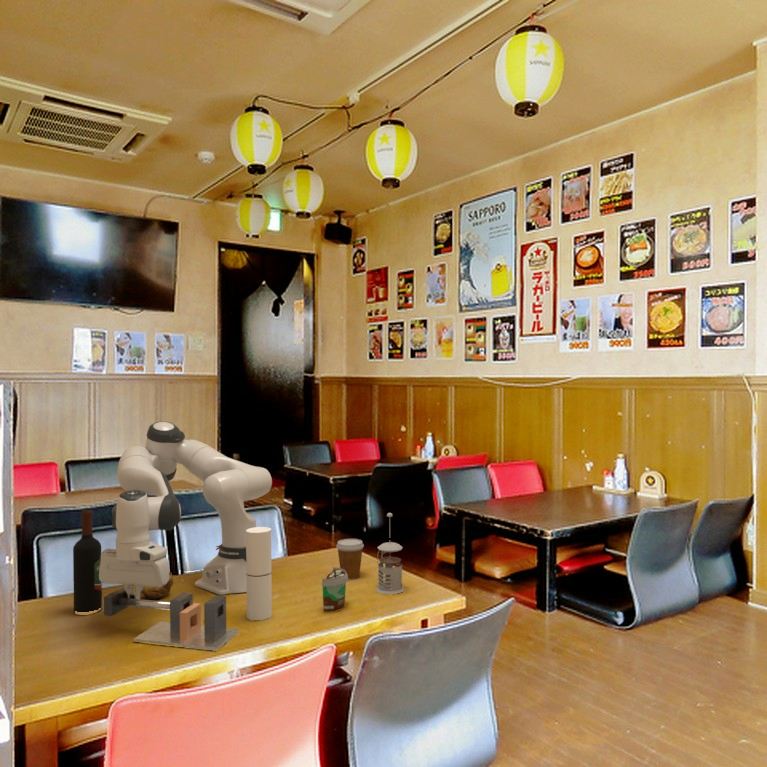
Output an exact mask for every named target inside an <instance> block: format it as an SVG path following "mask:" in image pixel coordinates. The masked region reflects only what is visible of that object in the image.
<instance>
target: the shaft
mask: <svg viewBox="0 0 767 767" xmlns="http://www.w3.org/2000/svg"><path fill="white" fill-rule="evenodd" d="M129 607H133V608H142V609H143V608H144V609H155V610H166V611H170V601H161V600H160V601H159V600H151V599H148V600H141V599H130V598H128V594H127V593H126V591H125V589H124V586H122V587H120V588H119V589H117V590H114V591H113V592H110V593H109V594H107V595H104V596H103V616H104V617H105V616H106V617H113V616H115V615H116V614H118V613H120V612H122V611H123V610H126V609H127V608H129Z"/></svg>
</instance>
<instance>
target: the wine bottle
mask: <svg viewBox="0 0 767 767" xmlns="http://www.w3.org/2000/svg"><path fill="white" fill-rule="evenodd" d="M72 553H73V554H72V556H73V557H72V562H73V563H72V566H73V567H72V570H73V572H72V573H73V576H72V578H73V612H74V611H77V612H89V611H94V610H98V609H99V608H101V607H102V608H103V600H102V598H103V597H102V596H103V595H102V594H103V591H102V590H103V589H102V588H103V587H102V585H103V584H102V582H101V581H100V580H99V570H100V563H101V553H102V543H100V541H99V540H98V539H97V538H95V537H94V535H93V510H92V509H84V510H83V509H82V510H81V537H80V539H79V540H77V542H75V544H74V545H73V548H72Z"/></svg>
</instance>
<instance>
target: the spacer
mask: <svg viewBox="0 0 767 767" xmlns="http://www.w3.org/2000/svg"><path fill="white" fill-rule="evenodd" d="M190 617H191V625H190ZM201 625H202V603H198V602H197V603H195V602H194V603H193V604H192V605H191V606H189V607H187V608H186V609H184V610H183V611H181V612H180V639H182V640H188V639H189V638H190V637H192V636H193V635H194V634H196V633H197V632H198V631H200V630H201Z"/></svg>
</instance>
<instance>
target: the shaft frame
mask: <svg viewBox="0 0 767 767" xmlns="http://www.w3.org/2000/svg"><path fill="white" fill-rule="evenodd" d="M193 595H194V594H193V593H191V592H181V593H180V594H178V595H176V596H174V597H173V598H171V599H170V600H169V602H170V610H169V622H168V621H159V622H157V623H155V624H154V625H153V626H151V627H149V628H147V630H145V631H143V632H141V633H140V634H139V635H137V636H135V637H134V638H133V639H132V641H141V642H150V643H159V644H168V645H177V646H182V647H189V648H197V649H205V650H215V651H216V650H218V649H219V648H220V647H221V646H222V647H224V646H225V645H226V644H227V643H228V642H229V641H231V640H232V639H233V638H234V637H236V636H237V635H238V634H239V630H240V629H239V628H230V627H229V628H228V627H227V596H226V595H219V594H216V595H214V596H212V597H211V598H210V599H208V600H206V601H205V602H204V603H203V604H204V605H203V607H204V608H203V610H204V611H203V612H204V614H203V616H204V618H203V620H204V622H203V623H204V625H202V624H201V630H200V631H198V632H197V633H196V634H194V635H193V636H192V637H190V638H189V639H188V640H182V639H180V612H181V611H183V610H184V609H186V608H187V607H189V606H191V605H192V604H194V603H193V602H194V599H193V597H194V596H193ZM190 625H191V617H190ZM237 633H238V634H237ZM236 634H237V635H236ZM233 636H234V637H233ZM232 637H233V638H232ZM231 638H232V639H231ZM230 639H231V640H230ZM226 642H227V643H226ZM225 643H226V644H225ZM224 644H225V645H224ZM223 645H224V646H223ZM222 647H221V648H222ZM221 648H220V649H221ZM220 649H219V650H220ZM205 650H204V651H205ZM219 650H218V651H219ZM215 651H214V652H215ZM216 652H217V651H216Z"/></svg>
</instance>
